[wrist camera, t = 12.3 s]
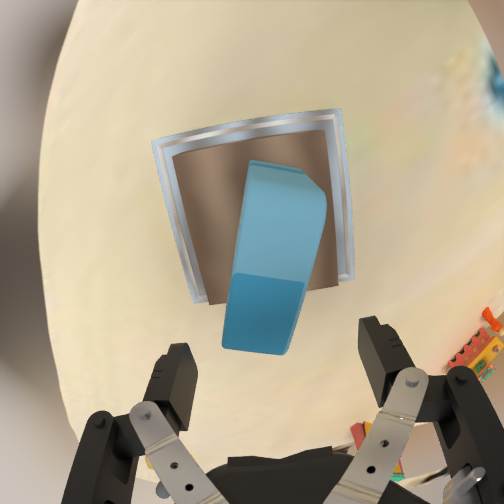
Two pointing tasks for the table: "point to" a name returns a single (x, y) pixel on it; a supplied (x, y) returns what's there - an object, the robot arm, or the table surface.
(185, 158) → the base
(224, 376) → the table surface
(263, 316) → the data package
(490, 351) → the toy building block set
